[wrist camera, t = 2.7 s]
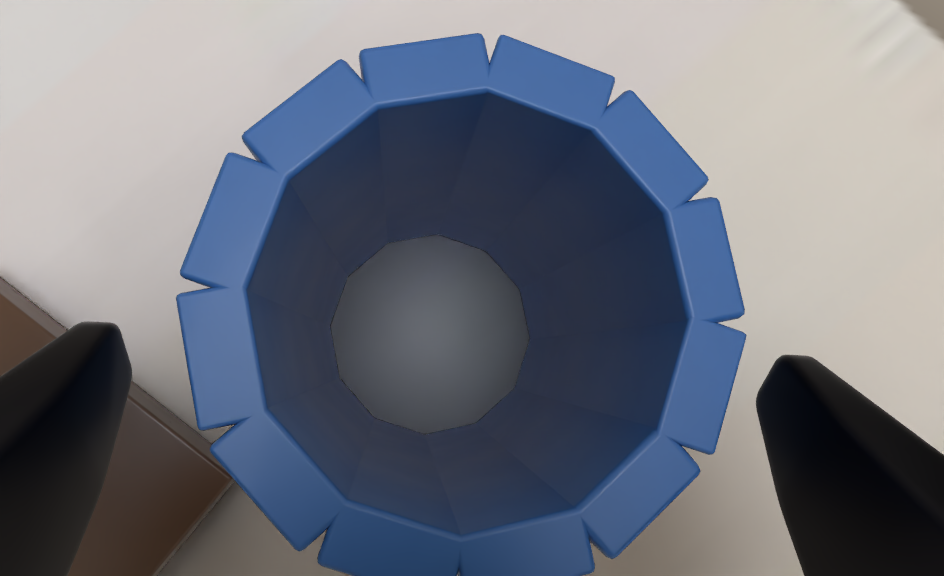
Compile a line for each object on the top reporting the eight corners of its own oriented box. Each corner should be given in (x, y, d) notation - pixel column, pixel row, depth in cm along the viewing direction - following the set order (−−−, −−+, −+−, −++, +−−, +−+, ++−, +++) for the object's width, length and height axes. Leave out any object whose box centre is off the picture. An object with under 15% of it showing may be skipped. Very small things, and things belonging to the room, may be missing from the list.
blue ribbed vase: (578, 431, 18) (797, 522, 8) (328, 487, 17) (236, 666, 7) (526, 189, 19) (676, 3, 9) (281, 232, 18) (137, 78, 8)
